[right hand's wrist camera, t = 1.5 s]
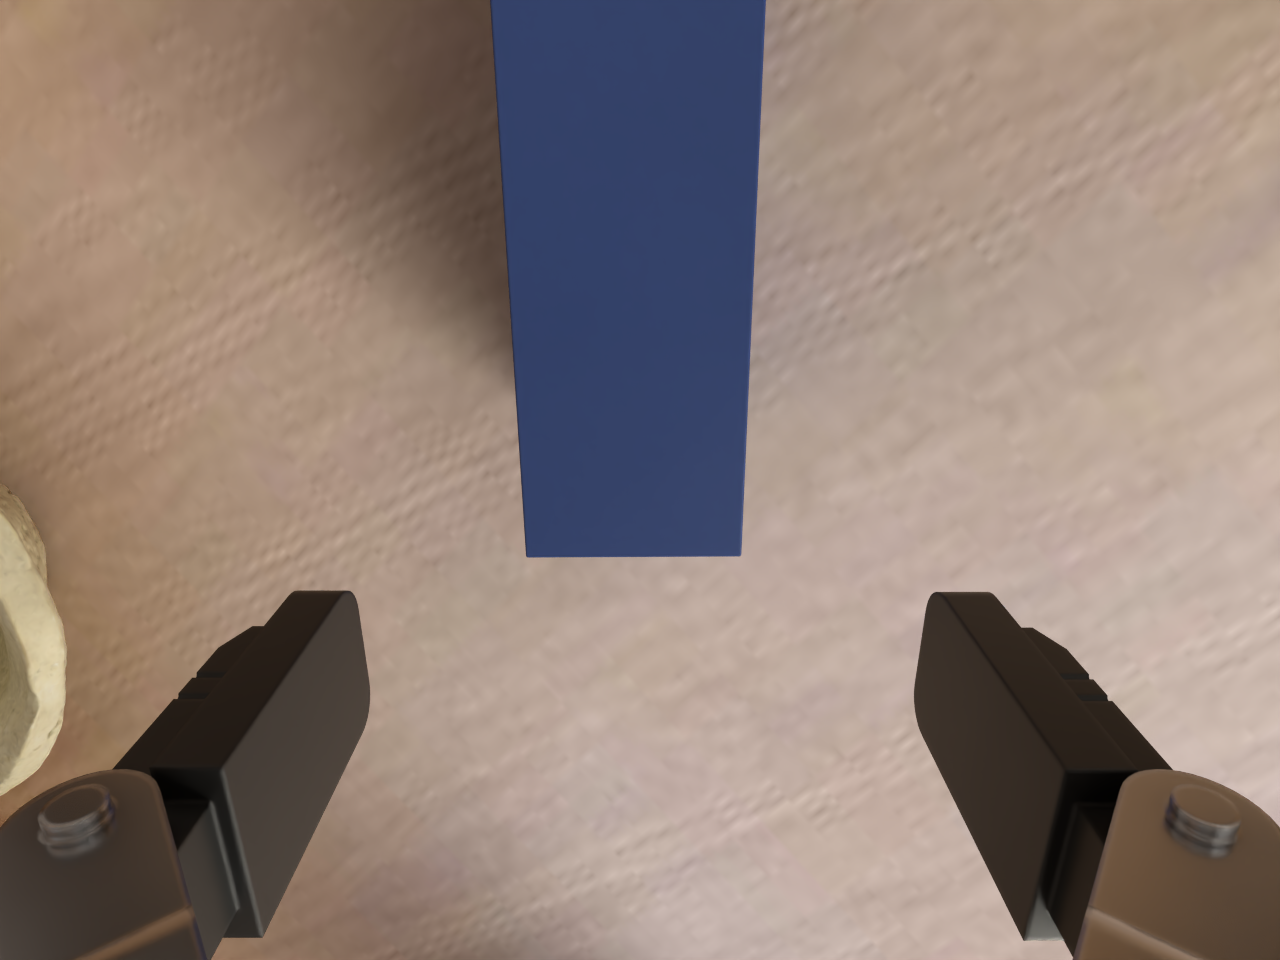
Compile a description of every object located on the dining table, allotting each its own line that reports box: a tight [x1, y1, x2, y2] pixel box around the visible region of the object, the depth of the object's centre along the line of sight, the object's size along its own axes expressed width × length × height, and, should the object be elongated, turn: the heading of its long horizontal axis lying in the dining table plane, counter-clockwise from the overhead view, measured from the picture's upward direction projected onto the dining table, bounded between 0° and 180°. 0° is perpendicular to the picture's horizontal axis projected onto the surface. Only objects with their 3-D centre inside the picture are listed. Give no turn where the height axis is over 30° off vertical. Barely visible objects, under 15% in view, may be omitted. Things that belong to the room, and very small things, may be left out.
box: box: [490, 0, 766, 557], centre depth 23 cm, size 22×6×11 cm, turn 0°
